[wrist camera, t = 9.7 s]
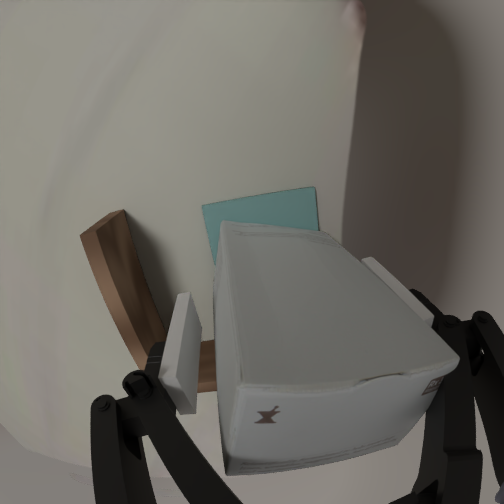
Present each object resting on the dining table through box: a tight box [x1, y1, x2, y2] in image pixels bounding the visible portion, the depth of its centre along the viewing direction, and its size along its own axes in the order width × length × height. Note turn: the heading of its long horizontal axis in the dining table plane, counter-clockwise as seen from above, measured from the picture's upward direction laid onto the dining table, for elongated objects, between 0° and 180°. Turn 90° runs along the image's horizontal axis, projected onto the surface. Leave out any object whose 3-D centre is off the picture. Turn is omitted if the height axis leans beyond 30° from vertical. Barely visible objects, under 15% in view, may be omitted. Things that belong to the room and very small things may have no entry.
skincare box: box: [213, 220, 460, 476], centre depth 14 cm, size 8×6×15 cm
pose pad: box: [202, 187, 318, 267], centre depth 21 cm, size 10×8×1 cm
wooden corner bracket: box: [80, 209, 217, 393], centre depth 19 cm, size 14×16×5 cm
